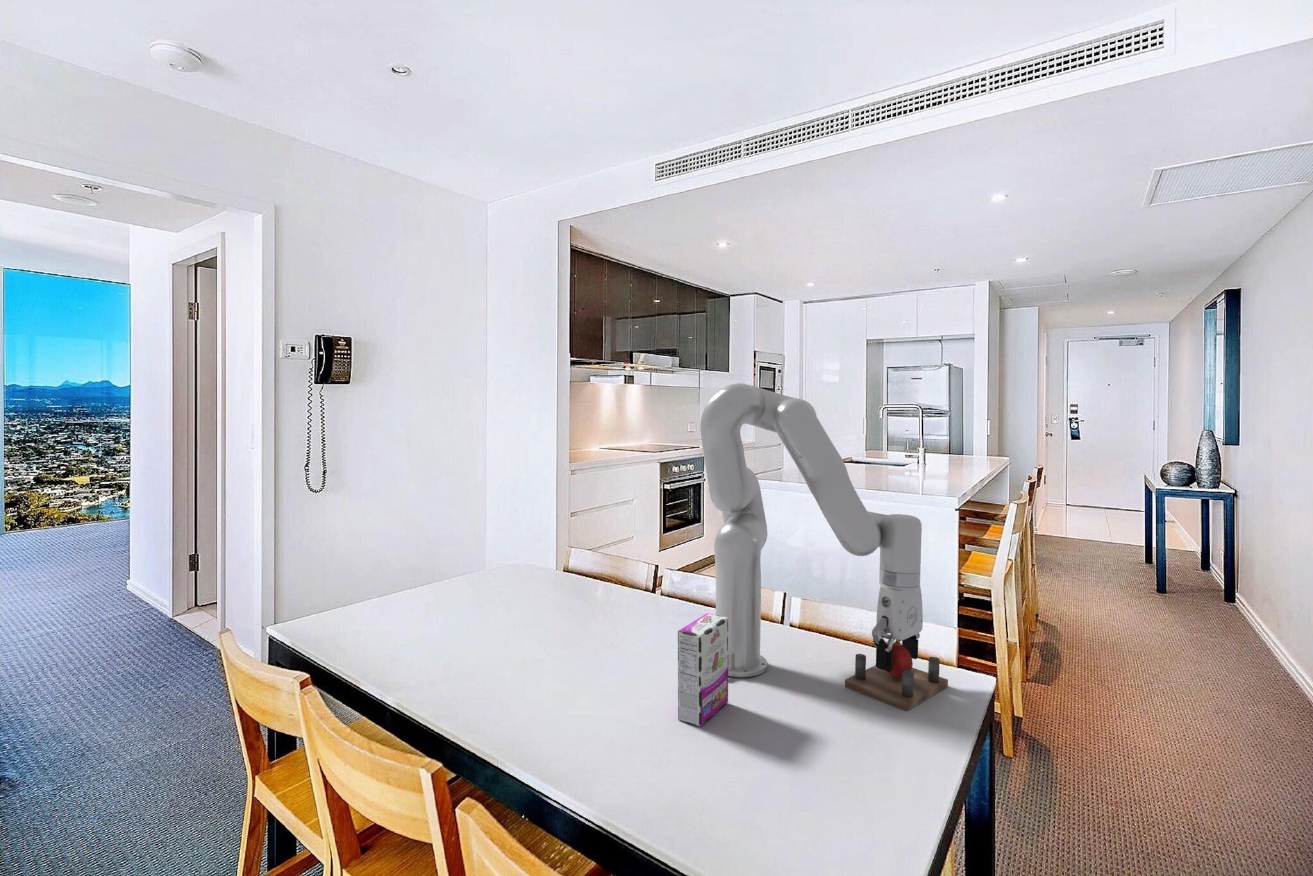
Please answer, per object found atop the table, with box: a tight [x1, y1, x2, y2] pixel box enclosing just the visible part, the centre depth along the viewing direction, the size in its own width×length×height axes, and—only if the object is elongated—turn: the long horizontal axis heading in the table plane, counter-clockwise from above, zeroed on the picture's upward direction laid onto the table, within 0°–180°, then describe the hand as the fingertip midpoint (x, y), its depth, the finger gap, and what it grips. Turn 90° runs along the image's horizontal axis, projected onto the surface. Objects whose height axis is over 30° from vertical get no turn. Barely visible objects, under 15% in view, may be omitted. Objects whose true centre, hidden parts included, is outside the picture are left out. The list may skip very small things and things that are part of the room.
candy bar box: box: [677, 613, 729, 728], centre depth 116 cm, size 11×5×16 cm, turn 148°
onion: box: [886, 640, 913, 680], centre depth 127 cm, size 6×6×8 cm
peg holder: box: [844, 641, 949, 712], centre depth 127 cm, size 16×13×6 cm
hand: (897, 663), depth 127 cm, fingers open, 9 cm apart
